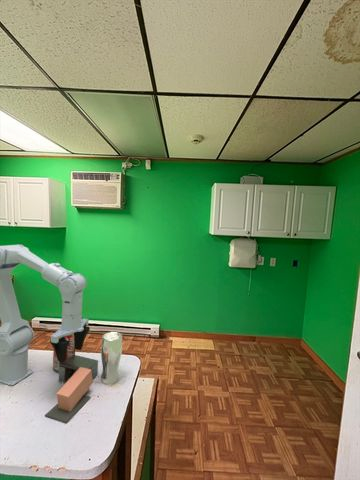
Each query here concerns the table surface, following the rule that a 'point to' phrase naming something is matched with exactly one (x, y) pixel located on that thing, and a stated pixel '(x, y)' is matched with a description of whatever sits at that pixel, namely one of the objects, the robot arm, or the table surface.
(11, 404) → the table surface
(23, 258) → the robot arm
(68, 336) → the soda can
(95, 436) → the table surface
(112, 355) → the beer glass
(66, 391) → the salmon orange block
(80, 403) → the mat
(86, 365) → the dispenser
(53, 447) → the table surface
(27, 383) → the table surface
